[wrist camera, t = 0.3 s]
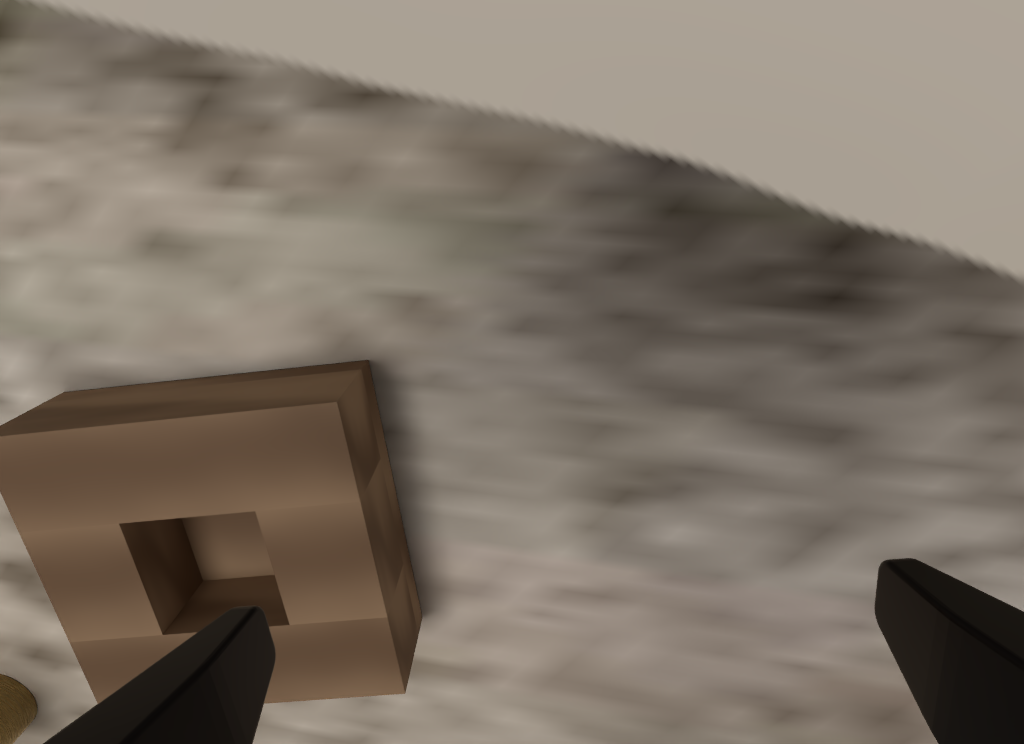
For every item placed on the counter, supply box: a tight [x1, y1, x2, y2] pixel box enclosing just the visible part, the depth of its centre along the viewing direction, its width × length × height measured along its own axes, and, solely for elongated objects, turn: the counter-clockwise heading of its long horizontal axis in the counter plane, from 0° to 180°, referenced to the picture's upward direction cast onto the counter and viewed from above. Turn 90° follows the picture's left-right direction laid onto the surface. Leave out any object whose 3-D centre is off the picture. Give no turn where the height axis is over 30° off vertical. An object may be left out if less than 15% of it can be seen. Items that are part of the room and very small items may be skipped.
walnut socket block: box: [0, 360, 422, 704], centre depth 24 cm, size 12×12×4 cm
